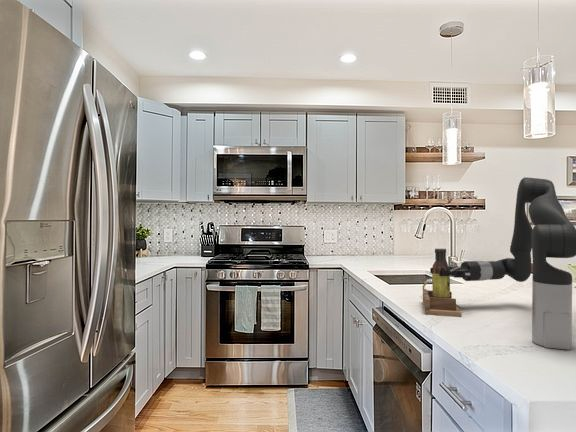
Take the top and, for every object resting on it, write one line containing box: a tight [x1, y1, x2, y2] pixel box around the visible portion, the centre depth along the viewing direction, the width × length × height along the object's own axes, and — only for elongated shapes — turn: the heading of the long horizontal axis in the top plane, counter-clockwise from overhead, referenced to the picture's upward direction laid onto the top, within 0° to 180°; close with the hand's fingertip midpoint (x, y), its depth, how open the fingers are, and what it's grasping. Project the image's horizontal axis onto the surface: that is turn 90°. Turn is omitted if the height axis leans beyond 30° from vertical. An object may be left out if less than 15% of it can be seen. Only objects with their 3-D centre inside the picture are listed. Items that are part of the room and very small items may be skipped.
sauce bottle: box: [431, 247, 451, 298], centre depth 150 cm, size 6×6×20 cm
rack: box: [422, 288, 462, 318], centre depth 150 cm, size 20×12×6 cm, turn 164°
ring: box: [422, 278, 432, 290], centre depth 171 cm, size 7×3×8 cm, turn 58°
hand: (435, 272), depth 149 cm, fingers closed on sauce bottle, 6 cm apart
